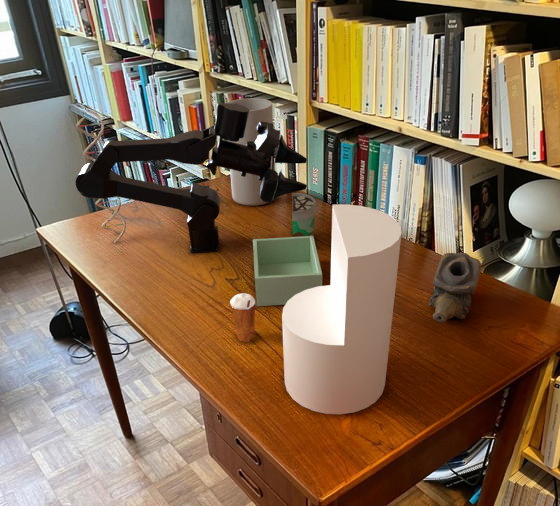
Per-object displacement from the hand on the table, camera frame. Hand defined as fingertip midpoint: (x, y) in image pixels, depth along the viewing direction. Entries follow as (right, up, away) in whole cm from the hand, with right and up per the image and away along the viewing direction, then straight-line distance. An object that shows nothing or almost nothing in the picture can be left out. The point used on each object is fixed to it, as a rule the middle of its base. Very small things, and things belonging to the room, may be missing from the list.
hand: (306, 173), depth 128 cm
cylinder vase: (-13, +5, +33) cm, 36 cm away
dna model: (-48, -11, +16) cm, 52 cm away
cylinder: (+3, -47, -31) cm, 57 cm away
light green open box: (-5, -26, -5) cm, 27 cm away
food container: (0, -13, +11) cm, 17 cm away
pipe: (+28, -35, -18) cm, 48 cm away
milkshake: (-12, -39, -21) cm, 46 cm away
